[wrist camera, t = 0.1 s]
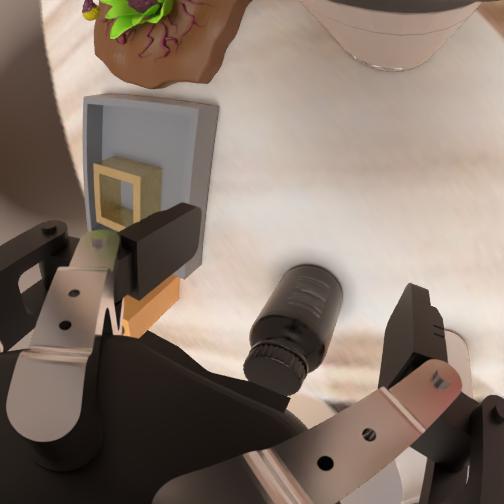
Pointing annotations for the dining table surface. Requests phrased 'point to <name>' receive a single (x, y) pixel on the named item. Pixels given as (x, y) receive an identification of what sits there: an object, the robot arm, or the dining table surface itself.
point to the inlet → (109, 191)
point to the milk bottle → (411, 460)
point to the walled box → (152, 150)
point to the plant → (164, 38)
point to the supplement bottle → (293, 330)
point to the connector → (149, 307)
